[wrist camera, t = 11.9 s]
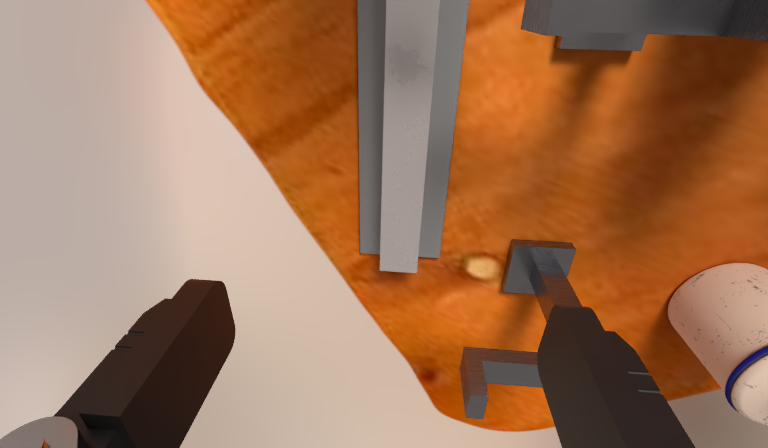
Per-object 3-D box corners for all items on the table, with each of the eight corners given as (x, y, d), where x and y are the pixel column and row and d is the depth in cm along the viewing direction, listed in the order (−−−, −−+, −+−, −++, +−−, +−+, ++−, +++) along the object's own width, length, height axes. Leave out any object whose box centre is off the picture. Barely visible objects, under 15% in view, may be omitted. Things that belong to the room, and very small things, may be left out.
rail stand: (490, -47, 23) (639, -151, 8) (662, -44, 22) (1208, -148, 7) (446, 281, 36) (469, 498, 20) (557, 288, 35) (667, 517, 19)
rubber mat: (357, -113, 22) (356, -116, 22) (480, -112, 22) (482, -115, 21) (361, 249, 35) (360, 253, 34) (439, 254, 34) (439, 258, 34)
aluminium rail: (392, -104, 22) (389, -118, 19) (446, -103, 21) (449, -117, 19) (382, 250, 34) (379, 270, 31) (416, 252, 33) (416, 273, 31)
